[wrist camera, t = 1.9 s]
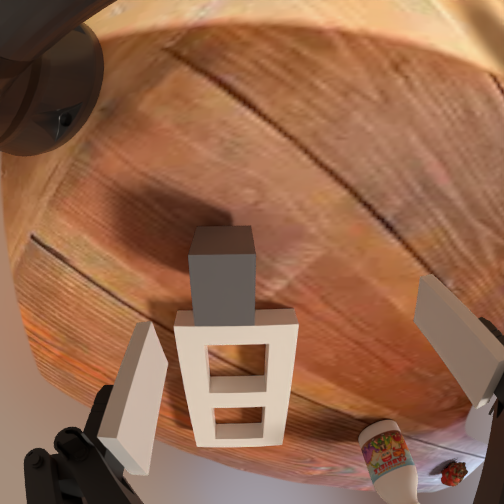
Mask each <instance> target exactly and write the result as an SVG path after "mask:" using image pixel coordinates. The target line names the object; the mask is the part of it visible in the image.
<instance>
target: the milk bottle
mask: <svg viewBox="0 0 504 504" xmlns="http://www.w3.org/2000/svg"><path fill="white" fill-rule="evenodd" d="M358 441H359V444H360V447H361V450H362V453H363V456H364V459H365V462H366V465H367V468H368V471H369V474H370V477H371V480H372V482H373V485H374V488H375V490H376V492H377V493H378V495H379V496H380V497H381V498H382V499H383V500H384V501H386V502H387V503H388V504H420V503H418V501H417V483H418V475H417V470H416V467H415V464H414V462H413V459H412V457H411V455H410V452H409V450H408V447H407V445H406V443H405V441H404V438H403V436H402V434H401V432H400V429H399V427H398V425H397V423H396V422H395V421H393V420H382V421H379V422H376V423H374V424H372V425H370V426H368V427H367V428H365V429H364V430H363V431H362V432H361V433H360V435H359V438H358Z"/></svg>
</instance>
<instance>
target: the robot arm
mask: <svg viewBox="0 0 504 504" xmlns="http://www.w3.org/2000/svg"><path fill="white" fill-rule="evenodd" d="M115 1H117V0H0V151H2V152H5V153H9V154H12V155H16V156H34V155H38V154H42V153H46V152H49V151H52V150H54V149H56V148H58V147H60V146H62V145H63V144H65V143H66V142H67V141H69V140H70V139H71V138H72V137H73V136H74V135H75V134H76V133H77V132H78V131H79V130H80V129H81V127H82V126H83V125H84V123H85V122H86V121H87V119H88V117H89V116H90V114H91V112H92V110H93V108H94V106H95V104H96V102H97V99H98V96H99V93H100V89H101V85H102V80H103V71H104V61H103V53H102V49H101V45H100V43H99V40H98V38H97V36H96V35H95V33H94V32H93V31H92V29H91V28H90V27H89V26H87V25H86V24H85V23H83V22H84V21H86V20H87V19H89V18H90V17H92V16H93V15H95V14H96V13H98V12H99V11H101V10H102V9H104V8H105V7H107V6H109V5H110V4H112V3H113V2H115ZM414 322H415V324H416V325H417V326H418V328H419V329H420V330H421V332H422V333H423V334H424V336H425V337H426V338H427V340H428V341H429V342H430V344H431V345H432V346H433V348H434V349H435V350H436V352H437V353H438V355H439V356H440V357H441V359H442V360H443V361H444V363H445V364H446V366H447V367H448V369H449V370H450V371H451V373H452V374H453V376H454V377H455V379H456V380H457V381H458V383H459V384H460V386H461V387H462V389H463V390H464V392H465V393H466V395H467V396H468V398H469V399H470V401H471V402H472V404H473V405H474V407H475V408H476V409H477V408H479V407H481V406H483V405H485V404H486V403H488V402H489V401H490V399H491V397H492V395H493V393H494V394H495V395H496V397H497V399H496V401H495V403H494V405H493V406H492V408H491V410H490V412H489V415H491V413H492V412H493V410H494V413H493V420H492V426H491V432H490V438H489V443H488V448H487V453H486V457H485V462H484V466H483V470H482V474H481V478H480V481H479V485H478V488H477V492H476V495H475V498H474V502H473V504H504V335H502V333H501V332H500V331H499V330H497V328H496V327H495V326H494V325H493V324H492V323H491V322H490V321H488V320H486V319H485V318H483V317H480V318H477V317H476V316H475V315H474V314H473V313H472V312H471V311H470V310H469V309H468V308H467V307H466V306H465V305H464V304H463V303H462V302H461V301H460V300H459V299H458V298H457V297H456V296H455V295H454V294H453V293H452V292H451V291H450V290H449V289H448V288H447V287H445V286H444V285H443V284H442V283H441V282H440V281H439V280H438V279H437V278H436V277H435V276H434V275H433V274H430V275H426V276H421V277H420V282H419V289H418V296H417V303H416V310H415V316H414ZM167 367H168V362H167V359H166V357H165V354H164V352H163V349H162V347H161V344H160V342H159V339H158V337H157V334H156V331H155V329H154V326H153V323H152V321H149V322H139V323H137V324H136V326H135V329H134V332H133V334H132V337H131V339H130V342H129V345H128V347H127V350H126V353H125V355H124V358H123V361H122V364H121V366H120V369H119V372H118V375H117V377H116V380H115V383H114V385H104V386H103V387H102V388H101V389H100V391H99V392H98V393H97V395H96V398H95V400H94V405H93V406H92V409H91V413H90V414H89V417H88V420H87V423H86V426H85V428H84V431H83V432H82V431H81V429H79V428H77V427H68V428H65V429H63V430H61V431H60V432H59V433H58V434H57V436H56V437H55V440H54V448H55V450H57V452H58V454H52V455H50V454H49V453H48V452H47V451H46V450H45V449H42V448H35V449H33V450H31V451H30V452H29V453H28V454H27V455H26V457H25V459H24V476H25V488H26V498H27V504H144V503H143V502H142V501H141V500H140V498H139V497H138V496H137V494H136V493H135V492H134V490H133V489H132V487H131V486H130V484H129V483H128V482H127V480H126V479H125V478H124V477H123V471H124V468H125V469H126V470H127V471H128V472H129V473H130V474H134V475H148V474H149V466H150V460H151V454H152V448H153V442H154V436H155V430H156V425H157V419H158V413H159V408H160V403H161V397H162V392H163V387H164V382H165V377H166V372H167Z"/></svg>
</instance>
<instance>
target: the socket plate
mask: <svg viewBox="0 0 504 504" xmlns="http://www.w3.org/2000/svg"><path fill="white" fill-rule="evenodd" d="M298 327H299V323H298V320H297V317H296V313H295V310H294V309H265V310H255V326H195V325H194V316H193V310H177V314H176V319H175V323H174V332H175V338H176V345H177V351H178V356H179V362H180V368H181V373H182V379H183V384H184V389H185V394H186V399H187V404H188V409H189V413H190V418H191V422H192V427H193V431H194V436H195V440H196V444H197V447H254V446H272V445H282V442H283V436H284V430H285V424H286V417H287V410H288V404H289V397H290V390H291V383H292V375H293V368H294V360H295V352H296V344H297V335H298ZM247 344H266V350H265V370H264V375H260V376H210V369H209V360H208V349H207V345H247ZM236 407H262V423H242V424H216V422H215V414H214V408H236Z"/></svg>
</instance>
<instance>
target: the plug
mask: <svg viewBox="0 0 504 504" xmlns="http://www.w3.org/2000/svg"><path fill="white" fill-rule="evenodd" d="M188 261H189V273H190V285H191V296H192V306H193V316H194V325H195V326H255V276H256V252H255V246H254V240H253V235H252V229H251V226H197V228H196V231H195V234H194V237H193V240H192V244H191V247H190V250H189V254H188Z"/></svg>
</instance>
